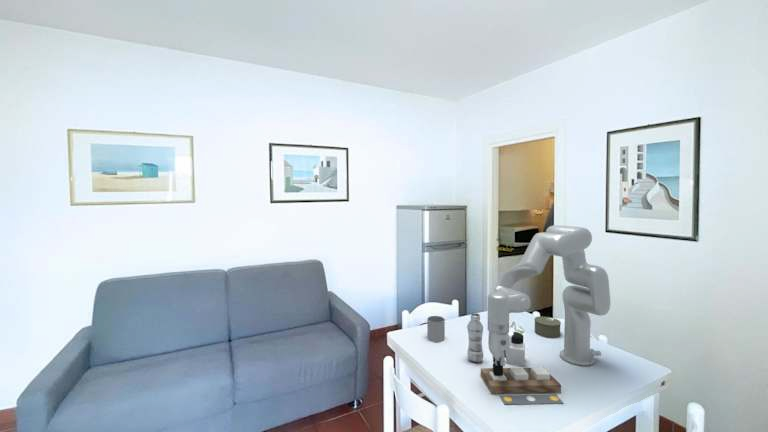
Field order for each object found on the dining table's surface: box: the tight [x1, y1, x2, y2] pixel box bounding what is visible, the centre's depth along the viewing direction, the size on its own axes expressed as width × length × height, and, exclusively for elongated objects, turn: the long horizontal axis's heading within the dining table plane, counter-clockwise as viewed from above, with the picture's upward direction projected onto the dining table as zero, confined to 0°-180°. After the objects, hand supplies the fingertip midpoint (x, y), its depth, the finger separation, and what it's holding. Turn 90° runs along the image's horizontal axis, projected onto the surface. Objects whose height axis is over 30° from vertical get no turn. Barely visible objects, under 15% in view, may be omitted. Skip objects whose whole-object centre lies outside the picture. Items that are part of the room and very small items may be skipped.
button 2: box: [530, 366, 551, 380], centre depth 120 cm, size 5×5×3 cm
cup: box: [426, 315, 446, 343], centre depth 159 cm, size 8×8×10 cm
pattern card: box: [498, 393, 564, 406], centre depth 110 cm, size 20×5×1 cm, turn 91°
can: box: [534, 316, 562, 339], centre depth 164 cm, size 12×12×7 cm
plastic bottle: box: [466, 312, 484, 363], centre depth 137 cm, size 6×7×20 cm
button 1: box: [489, 372, 507, 381], centre depth 119 cm, size 5×5×3 cm
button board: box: [480, 367, 562, 395], centre depth 120 cm, size 25×12×3 cm, turn 91°
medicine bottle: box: [505, 331, 526, 367], centre depth 136 cm, size 7×7×12 cm
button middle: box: [509, 367, 528, 380], centre depth 119 cm, size 5×5×3 cm
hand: (497, 374), depth 119 cm, fingers closed
